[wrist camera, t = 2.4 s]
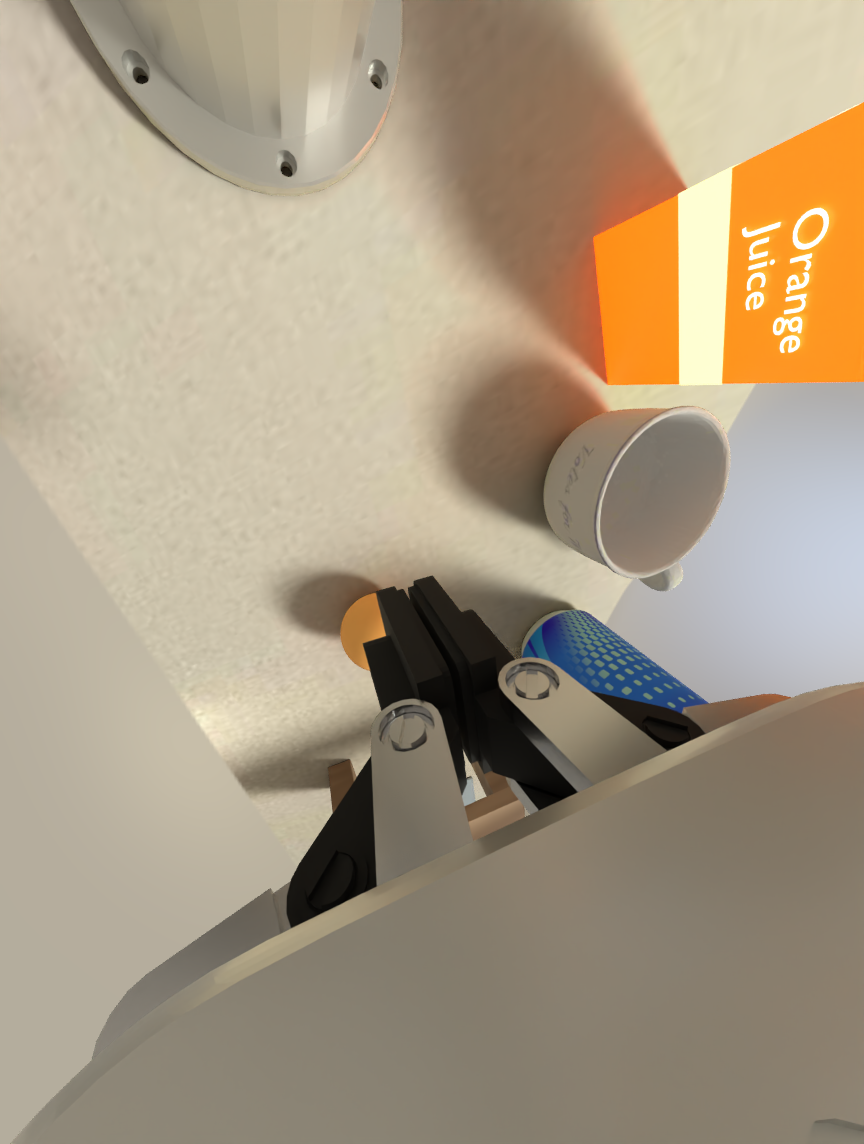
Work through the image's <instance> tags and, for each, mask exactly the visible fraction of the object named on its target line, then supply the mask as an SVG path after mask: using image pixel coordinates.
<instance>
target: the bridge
mask: <svg viewBox="0 0 864 1144" xmlns="http://www.w3.org/2000/svg"><path fill="white" fill-rule="evenodd" d="M471 765H472V767H473V769H474V771H475V773H476V775H477V777H478V779H479V781H480V783H481V785H482V787H483V789H484V792H485V794H486V796H487V797H485V798H482V799H480V800H478V801H475V802H473V803H471V804H469V805H466V806H464V807H465V811H466V815H467V819H468V822H469V826H470V830H471V834H472V838H473V841H475V840H477V839H479V838H481V837H484V836H486V835H488V834H490V833H492V832H494V831H496V830H498V829H501V828H503V827H505V826H507V825H509V824H511V823H514V822H516V821H518V820H520V819H522V818H524V817H525V813H524V806H523V805H522V803H521V802H520V801H519V799H518V798H517V797H516V795H515V794H514V793H513V791H512V790H511V788H510V787H509V785H508V783H507V780H506V777H505V776H502V775H499V774H496V773H493V772H492V771H490V772H488V773H486V774H484V773H483V771H482V769H481V767H480V766H479V764H478V762H474V763H472V764H471ZM328 771H329V781H330V791H331V801H332V810H333V812H334V811H335V809H336V808H337V806H338V805H339V803H340V802H341V800H342V799H343V797H344V796H345V794H346V793H347V791H348V790H349V788H350V787H351V785H352V784H353V782H354V781H355V779H356V778H357V777H356V775H355V772H354V769H353V766H352V764H351V761H350V760H347V761H345V762H342V763H339V764H337V765H334V766H331V767H329V768H328Z"/></svg>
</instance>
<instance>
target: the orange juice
mask: <svg viewBox="0 0 864 1144" xmlns="http://www.w3.org/2000/svg"><path fill="white" fill-rule="evenodd" d="M593 238H594V249H595V259H596V269H597V279H598V290H599V300H600V310H601V321H602V331H603V341H604V352H605V362H606V372H607V382H608V385H644V384H679V385H721V384H724V383H803V382H864V102H863V103H861V104H858V105H856V106H854V107H853V108H851V109H850V108H849V110H848V109H847V110H845V112H844V111H843V113H842V112H841V114H840V113H839V115H836V116H834V117H831V119H830V118H829V120H827V121H825V122H823V123H821V124H819V125H817V126H815V127H813V128H811V129H809V130H807V131H805V132H803V133H801V134H799V135H797V136H795V137H793V138H791V139H789V140H787V141H785V142H783V143H781V144H779V145H777V146H775V147H773V148H771V149H769V150H767V151H765V152H763V153H761V154H759V155H757V156H755V157H753V158H751V159H749V160H747V161H745V162H742V163H740V164H737V165H735V166H732V167H730V168H728V169H726V170H724V171H722V172H720V173H718V174H716V175H714V176H712V177H710V178H708V179H706V180H704V181H702V182H700V183H698V184H696V185H694V186H692V187H690V188H688V189H686V190H684V191H682V192H680V193H678V195H677V196H675V197H673V198H671V199H669V200H667V201H665V202H663V203H661V204H659V205H657V206H655V207H653V208H651V209H649V210H647V211H645V212H643V213H641V214H639V215H637V216H635V217H633V218H631V219H629V220H627V221H625V222H623V223H621V224H619V225H617V226H615V227H613V228H611V229H609V230H607V231H605V232H603V233H601V234H599V235H597V236H595V237H593Z"/></svg>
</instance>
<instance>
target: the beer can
mask: <svg viewBox="0 0 864 1144" xmlns="http://www.w3.org/2000/svg"><path fill="white" fill-rule="evenodd" d="M521 654H522V657H521V658H527V657H532V658H541V659H544V660H547V661H550V662H551V663H553V664H555V665H557V666H558V667H559V668H561V669H562V670H563V671H565V672H566V673H567V674H568V675H570V676H571V677H572V678H574V679H575V680H576V681H578V682H579V683H580V684H581V685H583V686H584V687H585V688H587V689H588V690H589V691H594V692H598V693H603V694H607V695H612V696H616V697H621V698H626V699H630V700H635V701H639V702H644V703H648V704H653V705H657V706H662V707H666V708H669V709H672V710H675V711H678V712H679V713H682V712H683V708H684V707H690V706H696V705H702V704H708V702H706V701H705V700H704V699H702V698H701V697H700V696H699V695H697V694H696V693H694V692H693V691H692V690H691V689H689V688H688V687H686V686H685V685H684V684H682V683H681V682H680V681H678V680H677V679H676V678H674V677H673V676H672V675H670V674H669V673H668V672H666V671H665V670H664V669H662V668H661V667H660V666H658V665H657V664H656V663H654V662H653V661H652V660H650V659H649V658H647V657H646V656H645V655H644V654H642V653H641V652H639V651H638V650H637V649H636V648H634V647H633V646H632V645H630V644H629V643H628V642H626V641H625V640H624V639H622V638H621V637H620V636H618V635H617V634H616V633H614V632H613V631H612V630H610V629H609V628H608V627H606V626H605V625H604V624H602V623H601V622H600V621H598V620H597V619H596V618H594V617H593V616H592V615H590V614H589V613H587V612H585V611H581V610H559V611H555V612H552V613H549V614H547V615H545V616H544V617H542V618H541V619H539V620H538V621H537V622H536V623H535V624H534V625H533V626H532V627H531V628H530V630H529V631H528V633H527V634H526V636H525V638H524V640H523V644H522V649H521Z"/></svg>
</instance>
